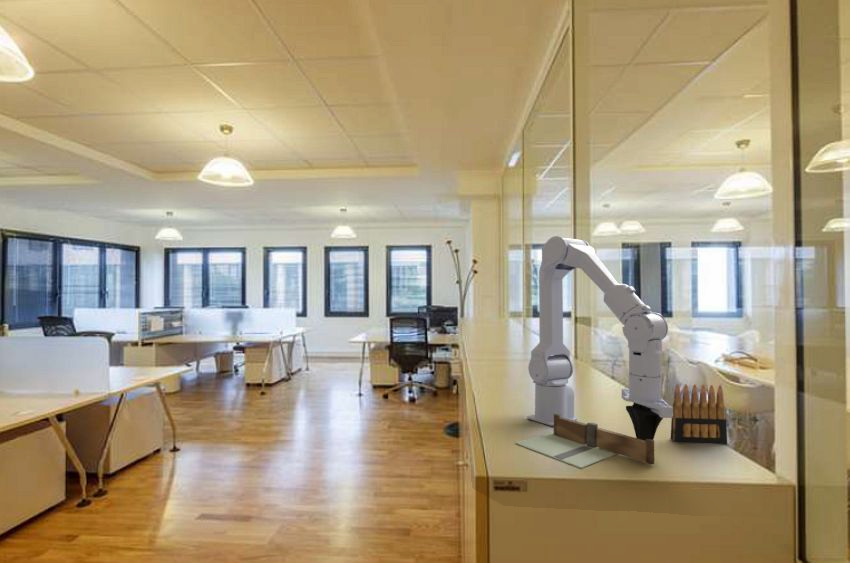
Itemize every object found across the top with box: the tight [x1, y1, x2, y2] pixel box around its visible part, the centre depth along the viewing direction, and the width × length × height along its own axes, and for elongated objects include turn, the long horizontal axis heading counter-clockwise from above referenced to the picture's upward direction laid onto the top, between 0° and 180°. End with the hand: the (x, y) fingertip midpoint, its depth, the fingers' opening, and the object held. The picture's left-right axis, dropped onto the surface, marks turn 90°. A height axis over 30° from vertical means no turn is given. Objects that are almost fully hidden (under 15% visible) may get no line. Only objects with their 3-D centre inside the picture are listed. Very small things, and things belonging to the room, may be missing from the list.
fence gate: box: [596, 427, 655, 465], centre depth 80 cm, size 11×1×4 cm, turn 37°
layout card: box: [514, 430, 618, 469], centre depth 85 cm, size 16×15×1 cm
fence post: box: [553, 414, 599, 448], centre depth 89 cm, size 2×10×4 cm, turn 37°
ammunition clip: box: [670, 383, 728, 445], centre depth 90 cm, size 11×2×12 cm, turn 88°
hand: (644, 444), depth 83 cm, fingers closed
